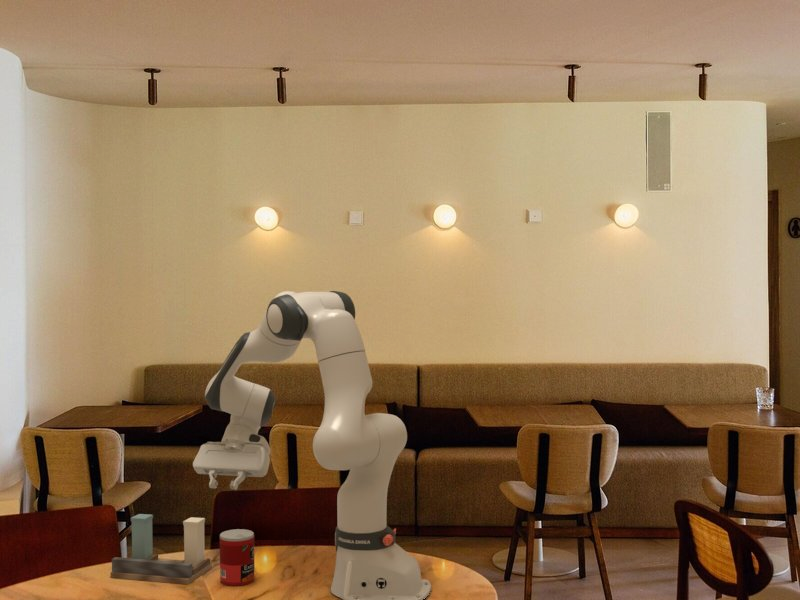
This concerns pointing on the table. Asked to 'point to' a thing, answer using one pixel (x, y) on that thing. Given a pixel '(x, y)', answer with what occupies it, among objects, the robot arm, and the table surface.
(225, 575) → the canned food
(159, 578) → the board
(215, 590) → the table surface
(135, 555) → the light blue tall block
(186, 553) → the cream tall block
